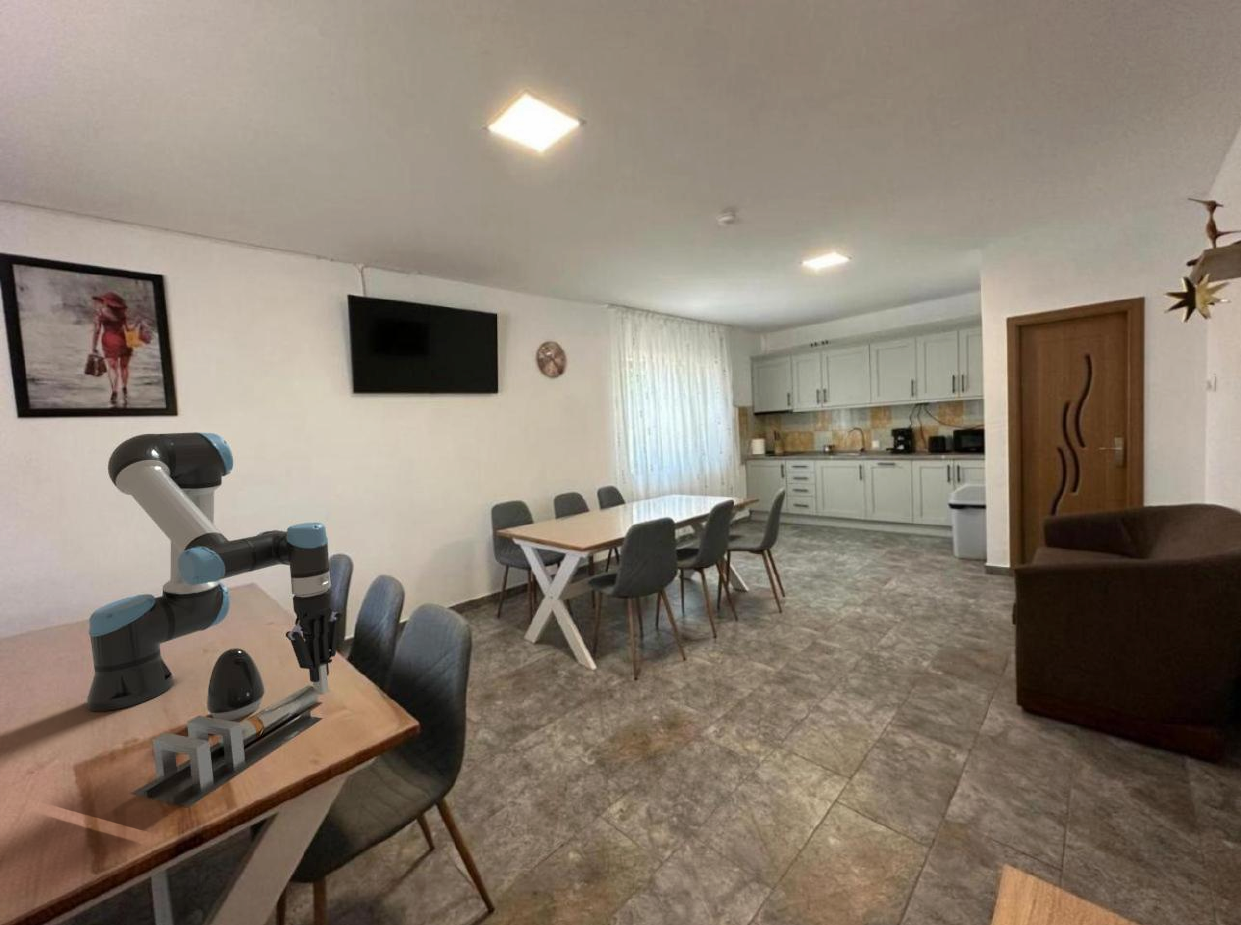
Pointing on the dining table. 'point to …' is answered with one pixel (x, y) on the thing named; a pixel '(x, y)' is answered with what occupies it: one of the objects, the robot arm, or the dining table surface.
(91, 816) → the dining table surface
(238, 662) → the black tall rounded dome
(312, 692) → the tube
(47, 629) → the dining table surface
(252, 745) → the twin arch cradle
